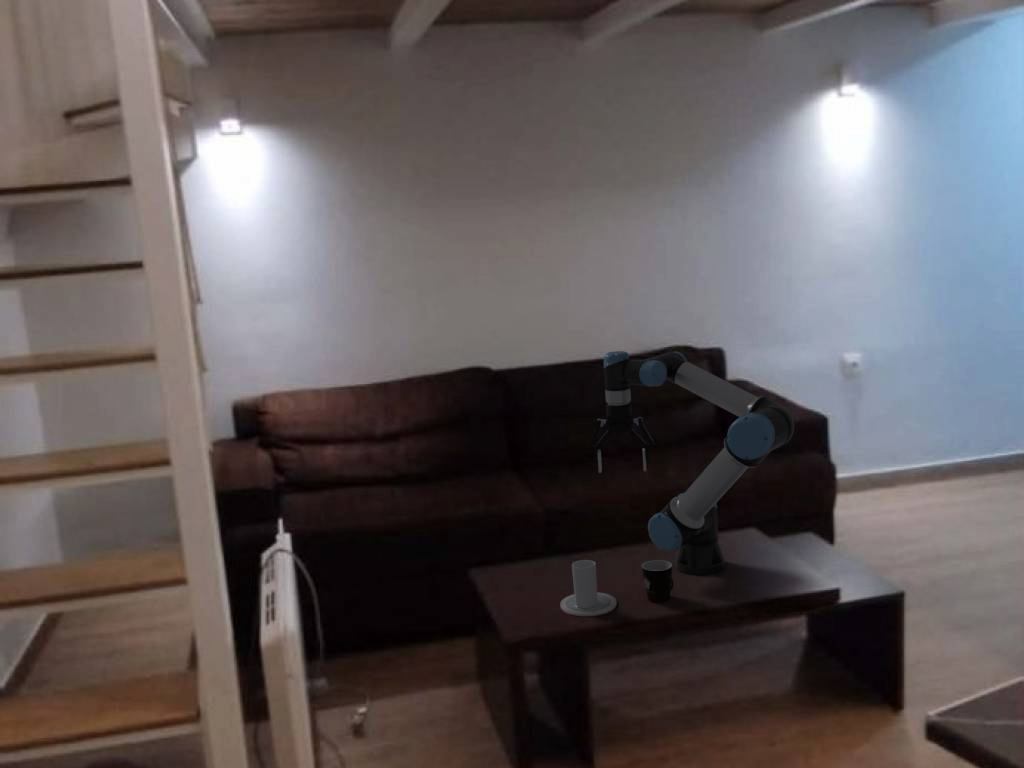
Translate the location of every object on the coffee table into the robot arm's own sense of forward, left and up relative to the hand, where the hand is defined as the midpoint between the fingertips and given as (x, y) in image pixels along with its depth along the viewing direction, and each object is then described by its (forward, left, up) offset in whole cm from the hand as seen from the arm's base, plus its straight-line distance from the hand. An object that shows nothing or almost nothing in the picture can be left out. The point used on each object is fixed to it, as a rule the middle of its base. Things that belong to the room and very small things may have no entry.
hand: (622, 470), depth 314 cm
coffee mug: (-10, +25, -32) cm, 42 cm away
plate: (+10, +28, -32) cm, 43 cm away
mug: (+11, +28, -31) cm, 43 cm away
